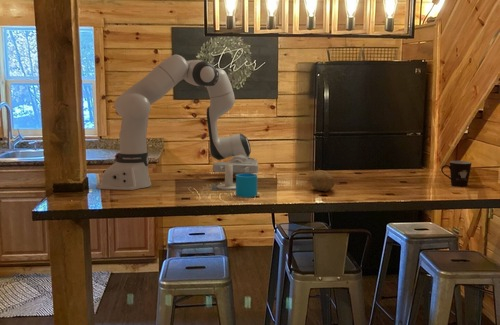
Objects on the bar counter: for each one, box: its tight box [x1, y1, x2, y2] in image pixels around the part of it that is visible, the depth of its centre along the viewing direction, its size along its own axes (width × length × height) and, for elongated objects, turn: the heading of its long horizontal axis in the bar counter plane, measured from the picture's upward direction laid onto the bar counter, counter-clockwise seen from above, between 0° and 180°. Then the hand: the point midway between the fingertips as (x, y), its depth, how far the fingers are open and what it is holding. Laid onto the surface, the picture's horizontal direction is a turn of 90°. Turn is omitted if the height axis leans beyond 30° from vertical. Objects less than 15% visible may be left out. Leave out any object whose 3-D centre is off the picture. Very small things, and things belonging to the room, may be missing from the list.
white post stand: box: [216, 164, 236, 191], centre depth 218 cm, size 10×10×10 cm
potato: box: [310, 169, 335, 192], centre depth 214 cm, size 10×14×8 cm
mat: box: [211, 184, 236, 192], centre depth 219 cm, size 14×12×1 cm
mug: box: [235, 173, 258, 198], centre depth 206 cm, size 12×8×8 cm
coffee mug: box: [440, 160, 472, 188], centre depth 226 cm, size 12×9×10 cm
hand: (232, 170), depth 228 cm, fingers open, 8 cm apart
